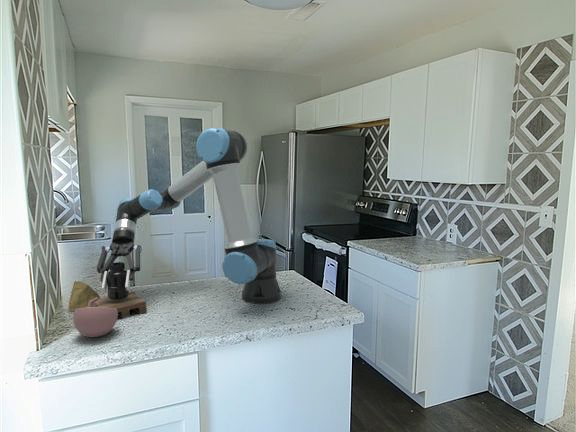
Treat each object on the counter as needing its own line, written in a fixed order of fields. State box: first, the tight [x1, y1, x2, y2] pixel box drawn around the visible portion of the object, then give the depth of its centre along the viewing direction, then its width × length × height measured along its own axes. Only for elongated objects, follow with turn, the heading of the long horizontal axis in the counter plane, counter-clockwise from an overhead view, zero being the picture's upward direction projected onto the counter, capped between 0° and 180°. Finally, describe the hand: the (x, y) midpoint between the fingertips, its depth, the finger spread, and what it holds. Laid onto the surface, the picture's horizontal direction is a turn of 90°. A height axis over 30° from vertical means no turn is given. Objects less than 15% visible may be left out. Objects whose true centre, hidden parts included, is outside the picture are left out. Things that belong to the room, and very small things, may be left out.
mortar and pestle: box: [72, 297, 119, 338], centre depth 115 cm, size 12×12×12 cm
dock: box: [93, 291, 148, 319], centre depth 134 cm, size 14×14×4 cm
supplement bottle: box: [106, 261, 130, 300], centre depth 133 cm, size 7×7×12 cm
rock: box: [67, 280, 101, 313], centre depth 139 cm, size 11×9×10 cm
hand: (115, 289), depth 130 cm, fingers closed on supplement bottle, 7 cm apart
